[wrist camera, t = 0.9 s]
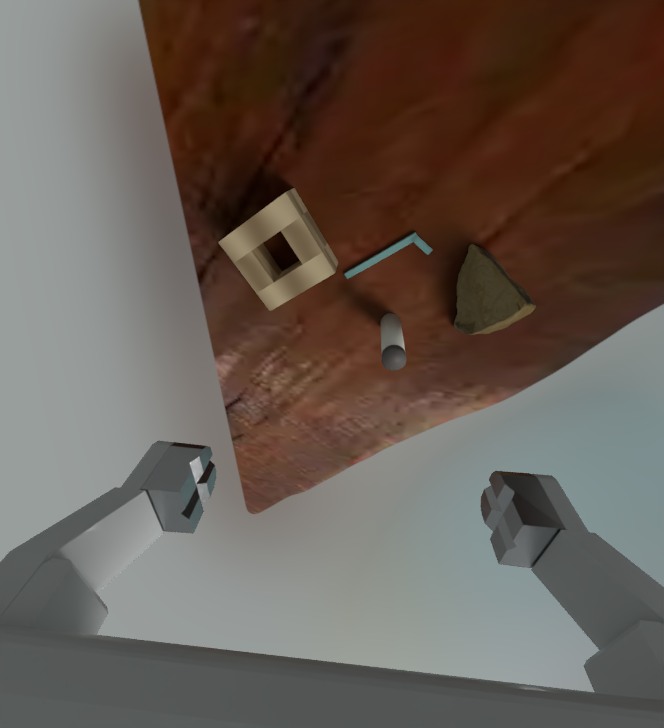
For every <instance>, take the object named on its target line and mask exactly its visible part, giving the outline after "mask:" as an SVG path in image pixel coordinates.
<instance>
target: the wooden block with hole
mask: <svg viewBox="0 0 664 728" xmlns="http://www.w3.org/2000/svg"><path fill="white" fill-rule="evenodd" d="M279 231H281V232H282V234H283V235H284V237H285V238H286V240H287V241H288V243H289V244H290V246H291V248H292V249H293V251H294V252H295V254H296V255H297V257H298V258H299V261H298V262H296V263H295V264H293V265H291V266H290V267H288V268H287V269H285V270H283V271H282V270H281V269H280V267H279V266H278V264H277V263H276V261H275V260H274V258H273V257H272V256H271V254H270V253H269V251H268V250H267V248H266V247H265V245H264V244H263V242H265V241H266V240H268V239H269V238H271V237H272V236H274V235H275V234H276V233H278V232H279ZM218 243H219V244H220V245H221V247H222V248H223V249H224V251H225V252H226V253H227V255H228V256H229V257H230V259H231V260H232V261H233V263H234V264H235V265H236V267H237V268H238V269H239V271H240V272H241V273H242V275H243V276H244V277H245V279H246V280H247V281H248V283H249V284H250V285H251V287H252V288H253V289H254V291H255V292H256V293H257V295H258V296H259V297H260V299H261V300H262V301H263V303H264V304H265V305H266V307H267V308H268V309H269V311H271V310H273V309H275V308H276V307H278V306H280V305H281V304H283V303H285V302H287V301H288V300H290V299H292V298H293V297H295V296H297V295H299V294H300V293H302V292H304V291H305V290H307V289H309V288H311V287H312V286H314V285H316V284H317V283H319V282H321V281H322V280H324V279H326V278H328V277H329V276H331V275H333V274H334V273H335V272H336V268H337V265H338V261H337V259H336V257H335V256H334V254H333V252H332V251H331V249H330V247H329V245H328V244H327V242H326V240H325V239H324V237H323V235H322V234H321V232H320V230H319V229H318V227H317V225H316V224H315V222H314V220H313V219H312V217H311V215H310V214H309V212H308V210H307V208H306V207H305V205H304V203H303V202H302V200H301V198H300V197H299V195H298V193H297V192H296V190H295V188H293V189H291V190H289V191H287V192H285V193H284V194H282V195H281V196H280V197H278V198H277V199H276V200H274V201H273V202H272V203H270V204H269V205H268V206H266V207H265V208H264V209H262V210H261V211H260V212H258V213H257V214H255V215H254V216H253V217H251V218H250V219H249V220H247V221H246V222H245V223H243V224H242V225H241V226H239V227H238V228H237V229H235V230H234V231H233V232H231V233H230V234H229V235H227V236H226V237H225V238H223V239H222V240H221V241H219V242H218Z"/></svg>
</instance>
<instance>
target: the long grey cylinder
mask: <svg viewBox="0 0 664 728" xmlns="http://www.w3.org/2000/svg"><path fill="white" fill-rule="evenodd" d="M381 348H382V363H383V365H384V366H385V367H386V368H387V369H389V370H398V369H401V368H402V367H403V366H404V365H405V363H406V354H405V347H404V341H403V334H402V328H401V321H400V318H399V317H398V316H397V315H396V314H393V313H389V314H386V315H384V316H383V317H382V319H381Z"/></svg>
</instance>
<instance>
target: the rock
mask: <svg viewBox="0 0 664 728" xmlns="http://www.w3.org/2000/svg"><path fill="white" fill-rule="evenodd" d="M457 296H458V297H457V302H456V304H457V316H456V318H455V321H454V328H455V329H457V330H458V331H459V332H463V333H466V334H468V335H474V334H479V333H482V334H489V333H492V332H494V331H497V330H500V329H504V328H507V327H508V326H510V325H511V324H512V323H514V322H516V321H518V320H520V319H522V318H523V317H525V316H526V315H528V314H530V313H531V312H532V311H533V310H534V309H535V308H536V305H535V304H534V302H533V301H532V299H531V297H530V296H529V294H528V293H527V292H526V291H525V290H524V289H523V288H522V287H521V286H520V285H519V284H517V283H516V282H514V281H513V280H511V279H510V277H509V275H508V274H507V272H506V271H505V269H504V268H503V267H502V266H501V265H500V264H499V263H498V261H497V260H496V259H495V258H494V257H493V256H492V255H491V254H489V253H488V252H487V251H486V250H485V249H483V248H481V247H478V246H475V245H474V244H471V245H470V246H469V248H468V254H467V257H466V259H465V262H464V264H463V265H462V267H461V270H460V272H459V273H458V282H457Z"/></svg>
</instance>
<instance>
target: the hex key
mask: <svg viewBox="0 0 664 728" xmlns="http://www.w3.org/2000/svg"><path fill="white" fill-rule="evenodd" d="M412 242H414V243H415V244H416V245H417V246H418V247H419V248H420V249H422V250H423V251H424V252H425V253H426V254H427V255H428V254H429V253H430V252H431V251H432V249H431V248H430V247H429V246H428V245H427V244H426V243H425V242H424V241H423V240H422V239H421V238H420V237H419V236H418V235H417V234H416V232H414V233H413V234H411V235H409V236H408V237H406V238H404V239H402V240H401V241H399V242H397V243H395V244H394V245H392V246H390V247H388V248H387V249H385V250H383V251H382V252H380V253H378V254H376V255H375V256H373V257H371V258H369V259H368V260H366V261H364V262H362V263H361V264H359V265H357V266H356V267H354V268H352V269H350V270H349V271H347V272H345V276H346V277H347V279H349V278H350V277H352V276H354V275H356V274H357V273H359V272H361V271H363V270H365V269H366V268H368V267H370V266H372V265H373V264H375V263H377V262H379V261H380V260H382V259H384V258H386V257H387V256H389V255H391V254H393V253H395V252H396V251H398V250H400V249H402V248H403V247H405V246H407V245H409V244H410V243H412Z"/></svg>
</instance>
